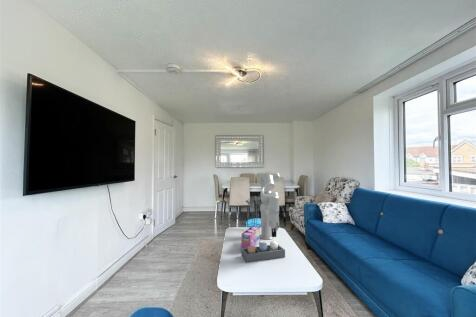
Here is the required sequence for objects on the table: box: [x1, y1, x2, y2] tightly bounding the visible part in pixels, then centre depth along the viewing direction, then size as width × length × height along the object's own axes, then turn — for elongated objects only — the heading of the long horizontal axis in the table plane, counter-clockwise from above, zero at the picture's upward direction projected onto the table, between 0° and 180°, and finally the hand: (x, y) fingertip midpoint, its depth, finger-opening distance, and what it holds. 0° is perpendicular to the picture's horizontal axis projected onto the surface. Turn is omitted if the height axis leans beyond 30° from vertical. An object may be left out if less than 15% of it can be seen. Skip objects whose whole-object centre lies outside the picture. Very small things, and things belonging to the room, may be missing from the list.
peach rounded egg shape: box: [248, 245, 255, 254], centre depth 163 cm, size 6×6×6 cm
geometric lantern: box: [245, 195, 263, 229], centre depth 230 cm, size 16×16×35 cm
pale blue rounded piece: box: [258, 241, 268, 252], centre depth 165 cm, size 6×6×6 cm
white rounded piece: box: [269, 240, 279, 251], centre depth 168 cm, size 6×6×6 cm
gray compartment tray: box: [240, 244, 286, 264], centre depth 165 cm, size 12×30×6 cm, turn 107°
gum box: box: [240, 226, 261, 249], centre depth 185 cm, size 24×8×14 cm, turn 154°
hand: (274, 236), depth 168 cm, fingers closed
